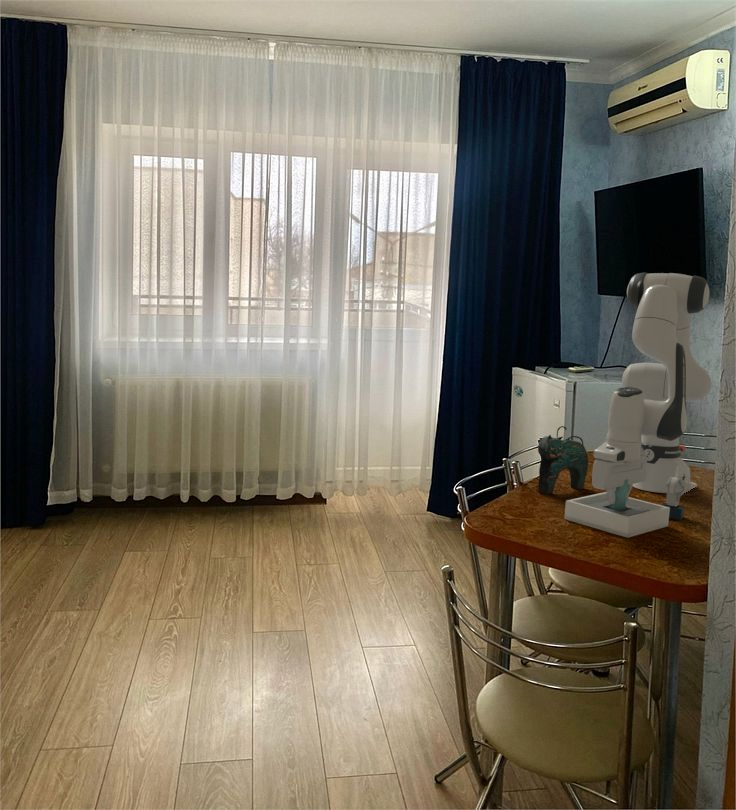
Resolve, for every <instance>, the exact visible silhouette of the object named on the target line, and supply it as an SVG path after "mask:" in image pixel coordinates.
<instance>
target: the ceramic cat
mask: <svg viewBox="0 0 736 810" xmlns="http://www.w3.org/2000/svg"><path fill="white" fill-rule="evenodd" d="M562 428H563V429H564V430H565V431H567V427H566V426H564V425H561V426H559V427H558V428H557V430H556V437H553V436H552V434H549V435H547V436H543V437H542V438H541V439H540V440H539V443H538V448H537V452H538V454H539V456H540V464H539V469H538V475H539V476H538V483H537V485H538V487H537V488H538V491H540V492H542V493H545V494H544V495H546V494H548V495H552V493H554V488H555V486H556V482H557V480H558V477H559V476H560V473H561V472H562V471H565V470H568V473H569V477H570V488H571V487H572V488H573V489H575V490H577V489H578V490H582V489H584V488H585V482H586V479H587V476H588V475H587V474H588V472H589V471H588V470H589V469H588V468H589V458H588V457H589V456H588V453H587V450H586V447H585V445H584V440H583V438H582V437H580V436H577V435H572V436H571V435H570V436H568V437H567V438H564V436H559V435H558V433H559V430H560V429H562ZM558 436H559V437H558ZM563 438H564V439H563ZM571 438H575V439H579V440H580V441H577V440H572V439H571ZM538 491H537V492H538ZM542 493H541V494H542Z"/></svg>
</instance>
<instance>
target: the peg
mask: <svg viewBox="0 0 736 810" xmlns="http://www.w3.org/2000/svg"><path fill="white" fill-rule="evenodd" d="M627 488H628V479H627V480H624V485H623V486H621V487H616V491H615V497H617V503H614V504H610V508H609V509H612V510H616V511H619V512H622V511H625V508H626V498H627Z"/></svg>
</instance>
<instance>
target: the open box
mask: <svg viewBox="0 0 736 810" xmlns="http://www.w3.org/2000/svg"><path fill="white" fill-rule="evenodd" d="M609 508H610V503H608V495H607V492H606V491H604V492H600V493H595V494H590V495H586V496H581V497H577V498H572V499H567V500H565V507H564V518H563V519H564V520H566V521H568V522H569V521H570V522H573V523H576V524H579V525H583V526H587V527H589V528H590V527H591V528H593V529H597V530H600V531H603V532H607V533H611V534H613V535H617V536H620V537H624V538H628V539H629V538H631V537H635V536H639V535H642V534H645V533H649V532H653V531H656V530H659V529H662V528H666V527H669V512H670V508H669V507H665V506H662V504H658V503H653V502H650V501H646V500H641V499H637V498H634V497H629V498H628V500H627V501H626V508H625V511H622V512H619V511H616V510H612V509H609Z"/></svg>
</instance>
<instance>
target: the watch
mask: <svg viewBox="0 0 736 810" xmlns="http://www.w3.org/2000/svg"><path fill="white" fill-rule="evenodd" d="M665 485H667V487H668V492H667V493H666V500H665V501H666V502H663V503H661V505H662V506H665V507H669V508H670V512H669V519H670V520H676V521H682V519H683V518H684V517H685V516H684V515H685V505H681V504H679V503H680V499H681V497H682V496H683V495H684V494H683V492H684V490H685V488H686V483H685V481H684V480H682V479H681V478H678V477H670V479H669V480H668V483H666V484H665Z"/></svg>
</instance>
